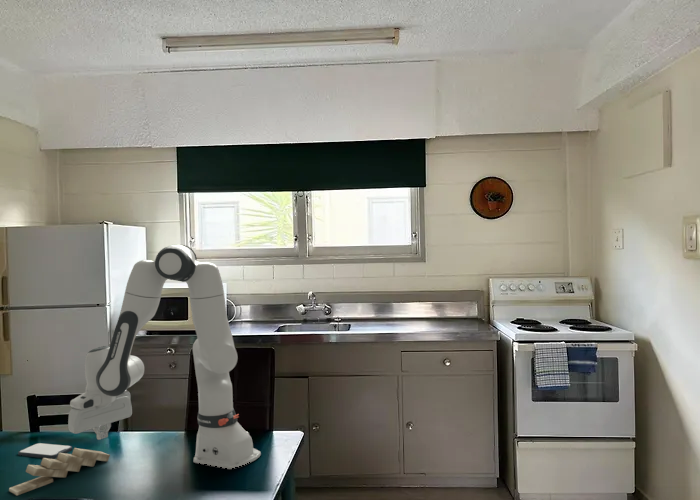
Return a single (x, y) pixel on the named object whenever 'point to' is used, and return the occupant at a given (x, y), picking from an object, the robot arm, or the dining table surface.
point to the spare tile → (30, 485)
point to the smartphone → (45, 450)
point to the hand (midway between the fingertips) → (102, 438)
